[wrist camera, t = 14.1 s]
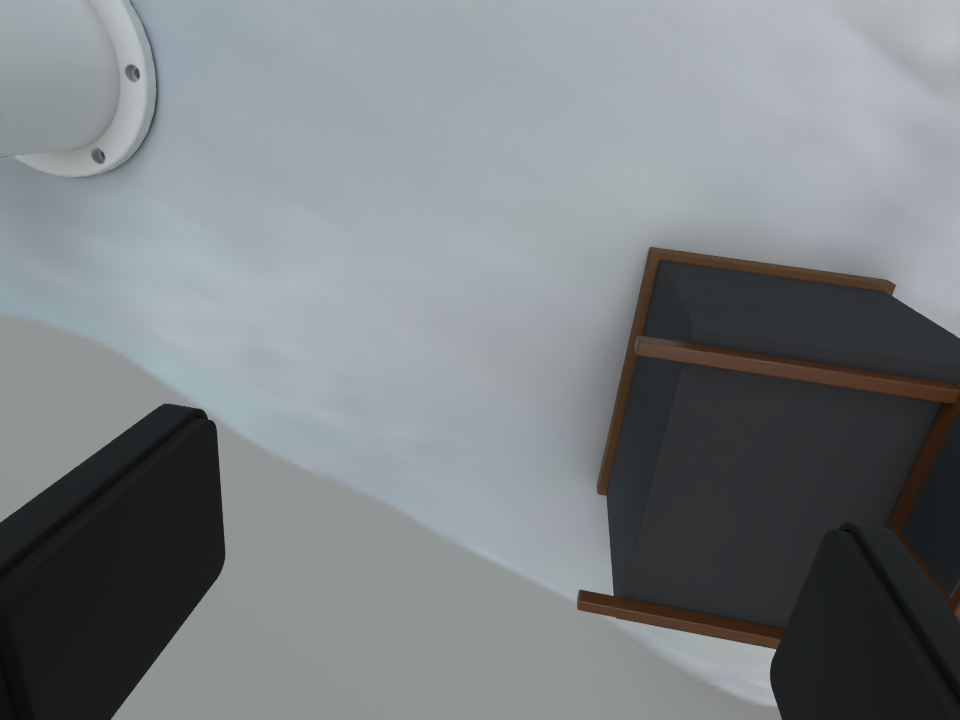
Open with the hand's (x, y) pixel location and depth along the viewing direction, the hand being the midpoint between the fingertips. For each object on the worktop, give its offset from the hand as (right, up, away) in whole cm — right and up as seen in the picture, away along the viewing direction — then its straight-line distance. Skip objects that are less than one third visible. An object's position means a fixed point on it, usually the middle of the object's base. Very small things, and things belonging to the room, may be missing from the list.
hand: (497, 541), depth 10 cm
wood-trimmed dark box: (+15, +1, +28) cm, 32 cm away
